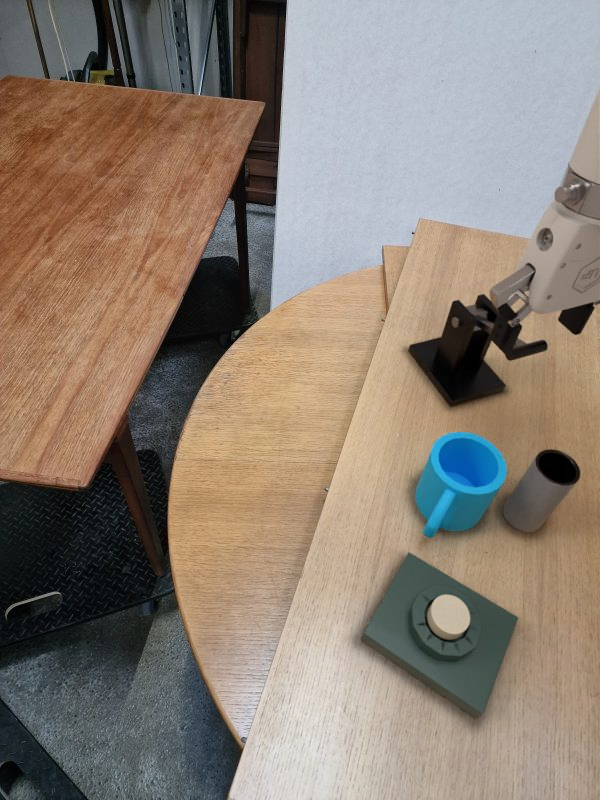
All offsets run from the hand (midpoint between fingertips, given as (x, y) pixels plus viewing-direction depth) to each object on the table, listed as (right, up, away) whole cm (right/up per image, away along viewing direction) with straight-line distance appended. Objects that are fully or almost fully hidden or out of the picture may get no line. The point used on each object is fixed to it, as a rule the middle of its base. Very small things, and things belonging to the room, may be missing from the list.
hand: (534, 336), depth 59 cm
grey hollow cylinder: (-1, -21, +2) cm, 21 cm away
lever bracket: (-4, -3, +17) cm, 18 cm away
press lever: (-2, 0, +7) cm, 7 cm away
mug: (-10, -21, +2) cm, 23 cm away
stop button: (-13, -28, -10) cm, 33 cm away
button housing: (-13, -31, -7) cm, 34 cm away
